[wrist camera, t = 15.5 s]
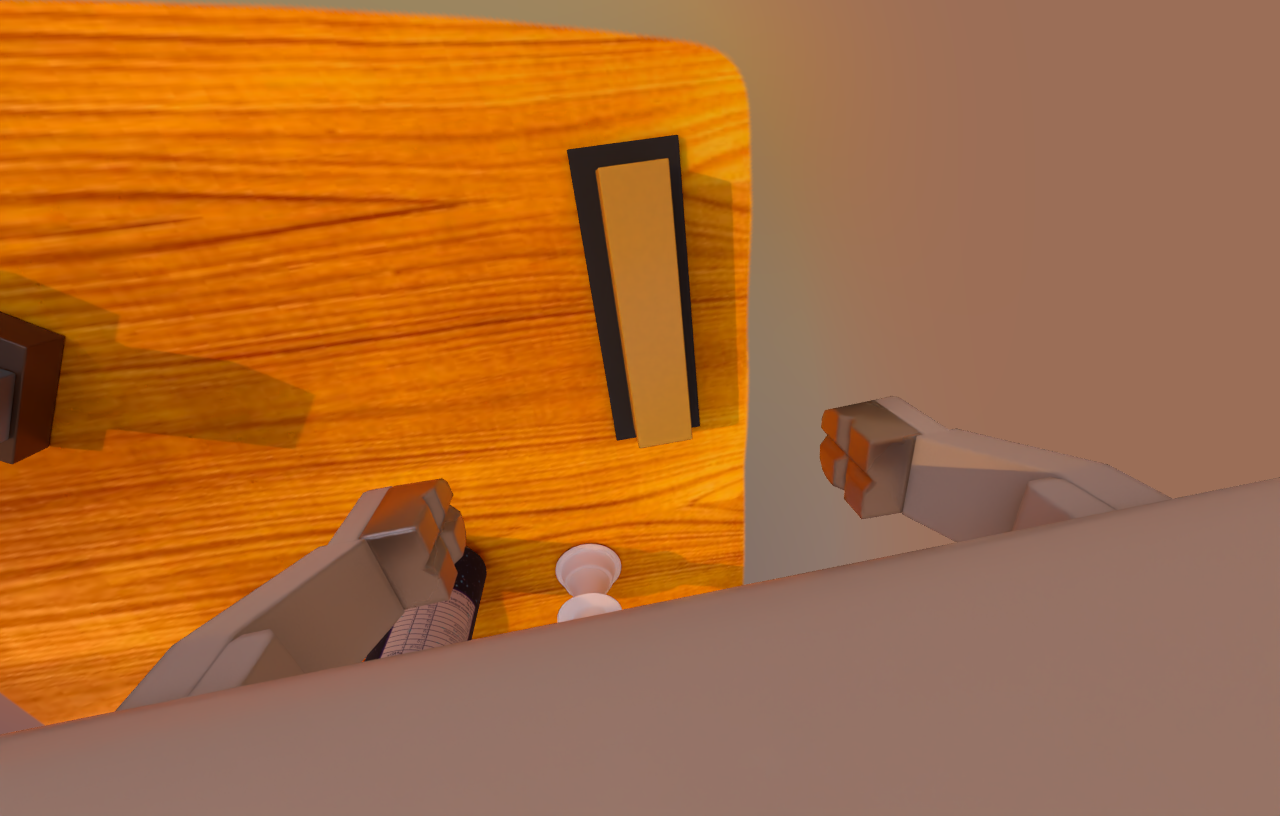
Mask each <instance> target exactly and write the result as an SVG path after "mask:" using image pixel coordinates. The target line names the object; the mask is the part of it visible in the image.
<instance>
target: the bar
mask: <svg viewBox="0 0 1280 816" xmlns="http://www.w3.org/2000/svg"><path fill="white" fill-rule="evenodd" d="M596 179H597V185H598V192H599V199H600V205H601V212H602V218H603V225H604V232H605V238H606V245H607V252H608V258H609V265H610V271H611V278H612V285H613V291H614V298H615V305H616V311H617V318H618V324H619V331H620V338H621V344H622V351H623V358H624V364H625V371H626V378H627V384H628V391H629V397H630V404H631V411H632V417H633V424H634V429H635V433H636V437H637V441H638V445H639V448H645V447H651V446H656V445H662V444H668V443H673V442H679V441H685V440H690V439H692V428H691V416H690V404H689V392H688V381H687V369H686V357H685V345H684V333H683V322H682V310H681V298H680V286H679V275H678V263H677V251H676V239H675V227H674V216H673V204H672V192H671V180H670V169H669V159H668V158H665V159H657V160H650V161H643V162H636V163H629V164H621V165H614V166H607V167H600V168H598V169H597V170H596Z"/></svg>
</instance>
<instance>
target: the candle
mask: <svg viewBox="0 0 1280 816" xmlns="http://www.w3.org/2000/svg"><path fill="white" fill-rule="evenodd" d="M620 572H621V562H620V559H619V557H618V555H617V554H616V553H615V552H614V551H613V550H611V549H610V548H608V547H606V546H603V545H599V544H583V545H579V546H576V547H573V548H571V549H570V550H568V551H567V552H565V553H564V554H563V555H562V556H561V557H560V559H559V560H558V562H557V565H556V576H557V579H558V580H559V582H560V583H561V584H562V585H563V586H564V587H565V588H566V590H567V591H568V593H569V594H570V595H572V596H573V598H571V599H569V600H568V601H567V602H566V603H564V604H563V606H562V607H561V608H560V610H559V613H558V623H559V622H564V621H569V620H574V619H579V618H584V617H589V616H594V615H599V614H604V613H609V612H614V611H619V610H622V608H621V606H620V604H619V603H618V602H617V601H616V600H615V599H614V598H612V597H610V596H608V595H606V593H607V592H608V591H609V590H610V588H611V586H612V584H613V583H614V582H615V581H616V580H617V578H618V577H619V575H620Z"/></svg>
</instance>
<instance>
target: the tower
mask: <svg viewBox="0 0 1280 816" xmlns="http://www.w3.org/2000/svg"><path fill="white" fill-rule="evenodd" d="M64 338H65V337H64V336H62V335H59V334H56V333H54V332H51V331H49V330H46V329H43V328H41V327H38V326H35V325H33V324H30V323H28V322H25V321H22V320H20V319H17V318H14V317H12V316H9V315H6V314H4V313H1V312H0V461H3V462H6V463H10V464H14V463H16V462H18V461H20V460H23V459H25V458H27V457H29V456H31V455H33V454H35V453H37V452H39V451H41V450H43V449H45V448H47V447H48V446H49V439H50V432H51V426H52V419H53V412H54V406H55V399H56V392H57V385H58V379H59V372H60V365H61V359H62V352H63V345H64Z"/></svg>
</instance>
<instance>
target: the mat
mask: <svg viewBox="0 0 1280 816" xmlns="http://www.w3.org/2000/svg"><path fill="white" fill-rule="evenodd" d="M567 154H568V159H569V165H570V171H571V177H572V183H573V188H574V194H575V200H576V206H577V212H578V217H579V223H580V229H581V235H582V241H583V246H584V252H585V258H586V264H587V270H588V275H589V281H590V287H591V293H592V299H593V304H594V310H595V316H596V322H597V328H598V333H599V339H600V345H601V351H602V357H603V362H604V368H605V374H606V380H607V386H608V391H609V397H610V403H611V409H612V415H613V420H614V426H615V432H616V438H617V440H624V439H629V438H635V437H636V433H635V429H634V424H633V417H632V411H631V404H630V397H629V391H628V384H627V378H626V371H625V364H624V358H623V351H622V344H621V338H620V331H619V324H618V318H617V311H616V305H615V298H614V291H613V285H612V278H611V271H610V265H609V258H608V252H607V245H606V238H605V232H604V225H603V218H602V212H601V205H600V199H599V192H598V185H597V179H596V170H597V169H598V168H600V167H607V166H614V165H621V164H629V163H636V162H643V161H650V160H657V159H665V158H668V159H669V169H670V180H671V192H672V204H673V216H674V227H675V239H676V251H677V263H678V275H679V286H680V298H681V310H682V322H683V333H684V345H685V357H686V369H687V381H688V392H689V404H690V416H691V428H692V427H698V426H700V422H699V408H698V395H697V382H696V368H695V355H694V341H693V328H692V315H691V301H690V288H689V274H688V261H687V248H686V234H685V221H684V207H683V194H682V181H681V167H680V154H679V140H678V135H672V136H665V137H657V138H650V139H643V140H635V141H628V142H620V143H613V144H605V145H598V146H591V147H583V148H576V149H568V150H567Z"/></svg>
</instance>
